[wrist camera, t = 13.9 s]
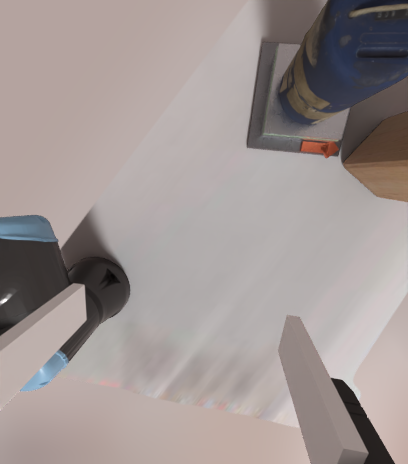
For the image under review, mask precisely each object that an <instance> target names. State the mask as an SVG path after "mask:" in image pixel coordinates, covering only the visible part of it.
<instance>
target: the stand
mask: <svg viewBox="0 0 408 464" xmlns="http://www.w3.org/2000/svg"><path fill="white" fill-rule="evenodd" d="M300 46H301V44H286V43H270V42H263V45H262V51H261V58H260V64H259V71H258V78H257V85H256V92H255V98H254V105H253V112H252V119H251V125H250V132H249V139H248V146H247V148H253V149H263V150H273V151H284V152H294V153H304V154H315V155H324V156H325V158H328V157H329V156H335V157H336V156H338V155H339V151H340V147H341V143H342V140H343V136H344V132H345V128H346V124H347V121H348V117H349V113H350V109H351V107H350V108H348V109H346V110H344V111H342V112H340V113H338V114H336V115H334V116H332V117H330V118H328V119H326V120H324V121H322V122H319V123H316V124H311V125H304V124H299V123H296V122H294V121H293V120H291V119H290V118H289V117H288V116H287V115H286V114H285V113H284V111H283V109H282V107H281V104H280V98H279V90H280V84H281V81H282V78H283V75H284V73H285V71H286V70H287V68H288V66H289V64H290V63H291V61H292V59H293V58H294V56H295V54H296V53H297V51H298V49H299V48H300Z"/></svg>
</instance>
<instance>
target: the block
mask: <svg viewBox="0 0 408 464" xmlns="http://www.w3.org/2000/svg"><path fill="white" fill-rule="evenodd" d="M343 165H344V167H345V169H346V170H348V171H349V172H350V173H351V174H352V175H353V176H354V177H355V178H357V179H358V180H359V181H360V182H361V183H362V184H363V185H364V186H366V187H367V188H368V189H369V190H370V191H371V192H372V193H373V194H375V195H376V196H377V197H380V198H386V199H392V200H398V201H404V202H408V111H407V112H404V113H401V114H398V115H395V116H392V117H389V118H387V119H385V120H383V121H382V122H381V123H380V125H379V126H378V127H377V128H376V129H375V130H374V131H373V132H372V133H371V134H370V135H369V136H368V137H367V138H366V139H365V140H364V141H363V142H362V143H361V144H360V145H359V147H358V148H357V149H356V150H355V151H354V152H353V153H352V154H351V155H350V156H349V157H348V158H347V159H346V160H345V162H344V163H343Z"/></svg>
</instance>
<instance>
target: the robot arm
mask: <svg viewBox="0 0 408 464" xmlns="http://www.w3.org/2000/svg"><path fill="white" fill-rule="evenodd" d="M129 296H130V286H129V282H128V279H127V277H126V275H125V274H124V272H123V271H122V270H121V269H120V268H119V267H118V266H117V265H116V264H114V263H113V262H111V261H109V260H106V259H104V258H99V257H89V258H85V259H83V260H81V261H79V262H77V263H76V264H74V265H73V266H72V267H71V268H70V269H69V270H68V271H67V270H66V267H65V264H64V261H63V258H62V255H61V252H60V249H59V246H58V239H56V237H55V235H54V232H53V230H52V228H51V225H50V223H49V221H48V220H47V219H46V218H44V217H42V216H38V215H27V216H13V217H0V411H1V410H2V409H3V408H4V407H5V406H6V405H7V403H8V402H9V401H10V400H11V399H12V398H13V397H14V396H15V395H16V394H17V393H18V392H19V391H32V390H36V389H39V388H42V387H44V386H45V385H47V384H48V383H49V382H50V381H51V380H52V379H53V378H54V377H55V376H56V375H57V374H58V373H59V372H60V371H61V370H62V369H63V368H65V367H66V365H67V364H68V363H69V361H70V360H71V359H72V358H73V356H74V355H75V354H76V353H77V351H78V350H79V349H80V348H81V346H82V345H83V344H84V343H85V342H86V340H87V339H88V338H89V337H90V335H91V334H92V333H93V332H94V330H95V329H96V328H97V327H98V326H99V324H101V323H103V322H104V321H106V320H107V319H108V318H111V317H113V316H115V315H116V314H118V313H119V312H120V311H121V310H122V308H123V307H124V306H125V304H126V303H127V301H128V299H129ZM278 352H279V356H280V359H281V363H282V366H283V370H284V373H285V376H286V380H287V383H288V387H289V390H290V394H291V397H292V401H293V404H294V408H295V411H296V414H297V418H298V421H299V425H300V428H301V432H302V435H303V439H304V442H305V445H306V449H307V452H308V456H309V459H310V463H311V464H395V463H394V461H393V460H392V458H391V456H390V454H389V453H388V451H387V449H386V448H385V446H384V444H383V442H382V441H381V439H380V437H379V435H378V434H377V432H376V430H375V429H374V427H373V425H372V423H371V422H370V420H369V418H367V415H366V413H365V411H364V410H363V408H362V407H361V405H360V403H359V401H358V399H357V397H356V396H355V394H354V392H353V391H352V390H351V389H350V388H349V387H348V385H347V384H346V383H345V382H344V381H343V380H340V379H334V378H330V376H329V374H328V372H327V370H326V368H325V366H324V364H323V362H322V360H321V358H320V356H319V354H318V352H317V350H316V348H315V346H314V344H313V342H312V340H311V338H310V336H309V335H308V333H307V331H306V329H305V327H304V325H303V323H302V321H301V319H300V317H297V316H290V315H287V317H286V321H285V325H284V329H283V333H282V337H281V341H280V345H279V349H278Z"/></svg>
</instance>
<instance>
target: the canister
mask: <svg viewBox="0 0 408 464" xmlns="http://www.w3.org/2000/svg"><path fill="white" fill-rule="evenodd" d="M407 76H408V0H328V1H327V3H326V4H325V6H324V7H323V9H322V11H321V12H320V14H319V16H318V17H317V19H316V20H315V22H314V24H313V26H312V27H311V29H310V30H309V31H308V32H307V33H306V35H305V37H304V40H303V42H302V44H301V46H300V48H299V49H298V51H297V53H296V54H295V56H294V58H293V59H292V61H291V63H290V64H289V66H288V68H287V70H286V71H285V73H284V75H283V78H282V81H281V84H280V90H279V98H280V104H281V107H282V109H283V111H284V113H285V114H286V115H287V116H288V117H289V118H290V119H291V120H293V121H294V122H296V123H299V124H304V125H311V124H316V123H319V122H322V121H324V120H326V119H328V118H330V117H332V116H334V115H336V114H338V113H340V112H342V111H344V110H346V109H348V108H350V107H351V106H353V105H355V104H356V103H358V102H360V101H362V100H364V99H366V98H368V97H370V96H372V95H374V94H376V93H378V92H380V91H382V90H384V89H386V88H388V87H389V86H391V85H393V84H395V83H397V82H398V81H400V80H402V79H404V78H405V77H407Z"/></svg>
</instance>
